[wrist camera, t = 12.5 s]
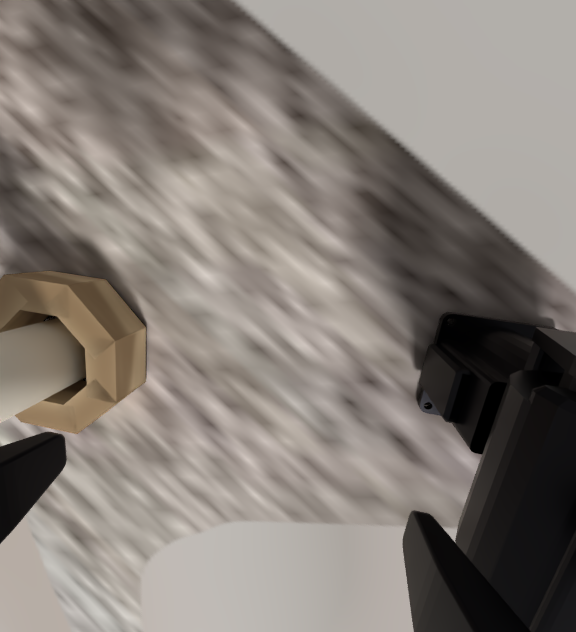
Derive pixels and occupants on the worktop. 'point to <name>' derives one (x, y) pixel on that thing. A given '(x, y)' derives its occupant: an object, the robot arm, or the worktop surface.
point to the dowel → (37, 364)
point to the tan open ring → (91, 331)
